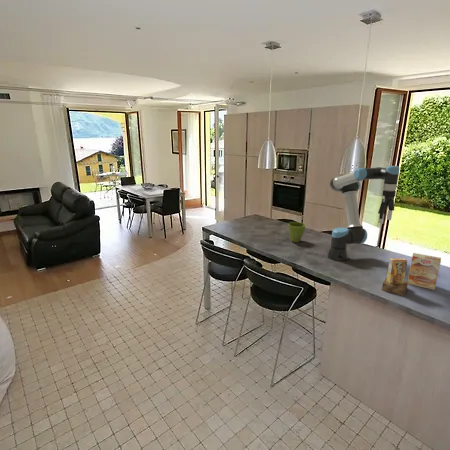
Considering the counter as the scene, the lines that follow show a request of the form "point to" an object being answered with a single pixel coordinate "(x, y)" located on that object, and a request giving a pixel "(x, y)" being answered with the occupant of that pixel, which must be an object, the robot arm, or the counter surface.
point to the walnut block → (395, 287)
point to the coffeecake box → (424, 271)
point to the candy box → (396, 270)
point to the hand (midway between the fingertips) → (384, 221)
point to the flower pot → (296, 231)
